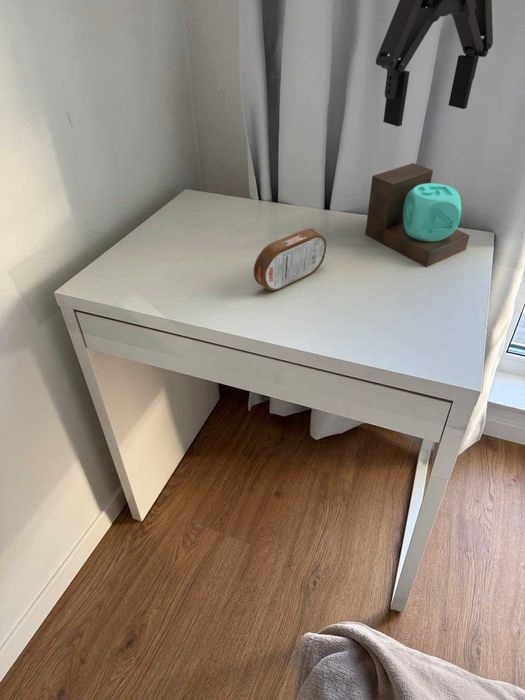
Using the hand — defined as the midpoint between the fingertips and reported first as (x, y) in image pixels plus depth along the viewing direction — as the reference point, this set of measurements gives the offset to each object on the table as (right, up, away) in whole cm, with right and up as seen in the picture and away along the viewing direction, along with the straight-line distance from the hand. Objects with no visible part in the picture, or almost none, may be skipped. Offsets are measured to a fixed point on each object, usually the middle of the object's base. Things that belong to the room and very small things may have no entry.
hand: (426, 115), depth 71 cm
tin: (-18, -21, +17) cm, 33 cm away
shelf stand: (+7, -12, +27) cm, 30 cm away
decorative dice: (+8, -11, +23) cm, 27 cm away
